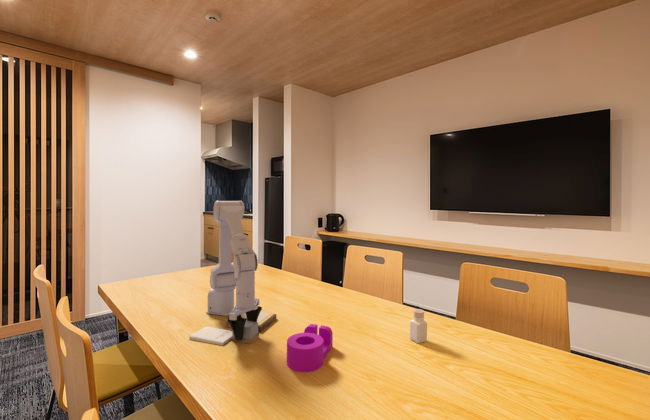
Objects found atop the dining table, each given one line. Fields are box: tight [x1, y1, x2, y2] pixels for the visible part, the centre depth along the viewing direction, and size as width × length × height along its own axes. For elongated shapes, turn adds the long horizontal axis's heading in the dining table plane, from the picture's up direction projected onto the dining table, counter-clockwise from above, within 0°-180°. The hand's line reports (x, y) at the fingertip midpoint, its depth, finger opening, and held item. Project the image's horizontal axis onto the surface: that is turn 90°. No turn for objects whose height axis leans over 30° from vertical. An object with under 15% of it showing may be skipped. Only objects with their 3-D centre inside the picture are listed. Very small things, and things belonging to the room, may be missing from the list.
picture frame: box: [225, 311, 277, 333], centre depth 114 cm, size 13×12×2 cm
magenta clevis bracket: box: [286, 323, 334, 373], centre depth 90 cm, size 16×10×6 cm, turn 160°
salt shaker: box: [409, 308, 428, 344], centre depth 101 cm, size 4×4×10 cm
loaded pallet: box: [231, 321, 260, 345], centre depth 101 cm, size 7×5×5 cm, turn 73°
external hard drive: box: [188, 325, 232, 346], centre depth 102 cm, size 2×8×12 cm
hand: (245, 334), depth 101 cm, fingers open, 7 cm apart
